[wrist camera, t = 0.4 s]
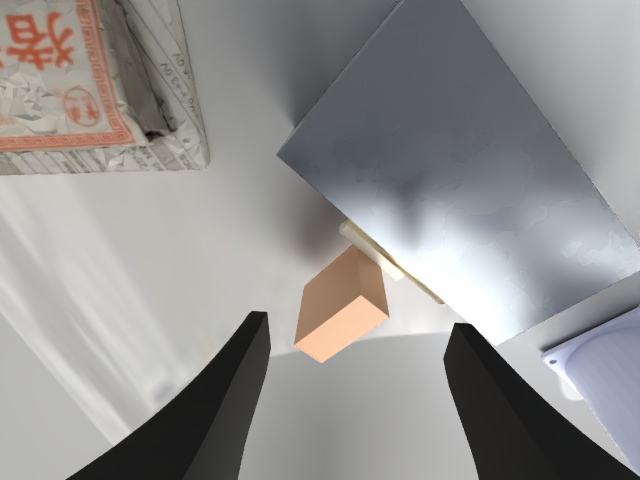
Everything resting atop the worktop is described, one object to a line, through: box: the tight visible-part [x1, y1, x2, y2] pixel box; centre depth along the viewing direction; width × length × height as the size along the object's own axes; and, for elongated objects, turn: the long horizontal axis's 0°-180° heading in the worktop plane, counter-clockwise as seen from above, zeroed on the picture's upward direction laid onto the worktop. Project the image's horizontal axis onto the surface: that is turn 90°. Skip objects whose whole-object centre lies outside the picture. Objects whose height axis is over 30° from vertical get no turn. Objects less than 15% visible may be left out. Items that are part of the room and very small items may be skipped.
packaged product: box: [0, 0, 210, 175], centre depth 16 cm, size 18×5×10 cm
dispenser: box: [276, 0, 640, 346], centre depth 16 cm, size 16×8×6 cm, turn 48°
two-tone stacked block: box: [294, 220, 405, 363], centre depth 16 cm, size 5×13×5 cm, turn 138°
